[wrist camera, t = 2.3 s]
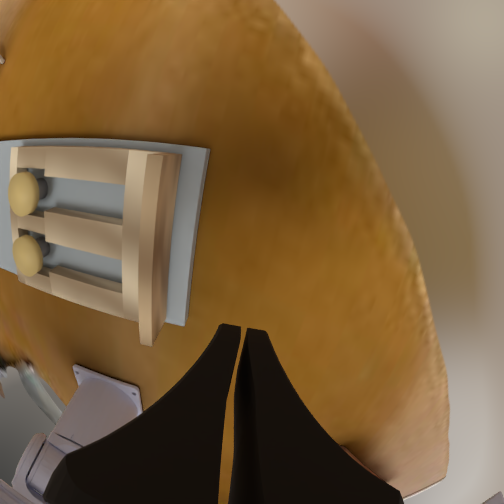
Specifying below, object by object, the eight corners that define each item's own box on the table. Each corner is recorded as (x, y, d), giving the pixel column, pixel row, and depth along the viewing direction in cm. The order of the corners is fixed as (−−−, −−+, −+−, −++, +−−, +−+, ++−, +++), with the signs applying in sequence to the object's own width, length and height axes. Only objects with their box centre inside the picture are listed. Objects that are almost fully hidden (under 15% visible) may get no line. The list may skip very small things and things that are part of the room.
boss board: (187, 317, 20) (175, 348, 16) (-6, 257, 19) (-29, 270, 15) (210, 148, 16) (196, 148, 12) (-11, 142, 15) (-38, 146, 11)
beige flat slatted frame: (166, 318, 18) (152, 346, 15) (26, 275, 18) (4, 291, 15) (182, 154, 14) (163, 155, 11) (21, 146, 14) (-8, 150, 11)
